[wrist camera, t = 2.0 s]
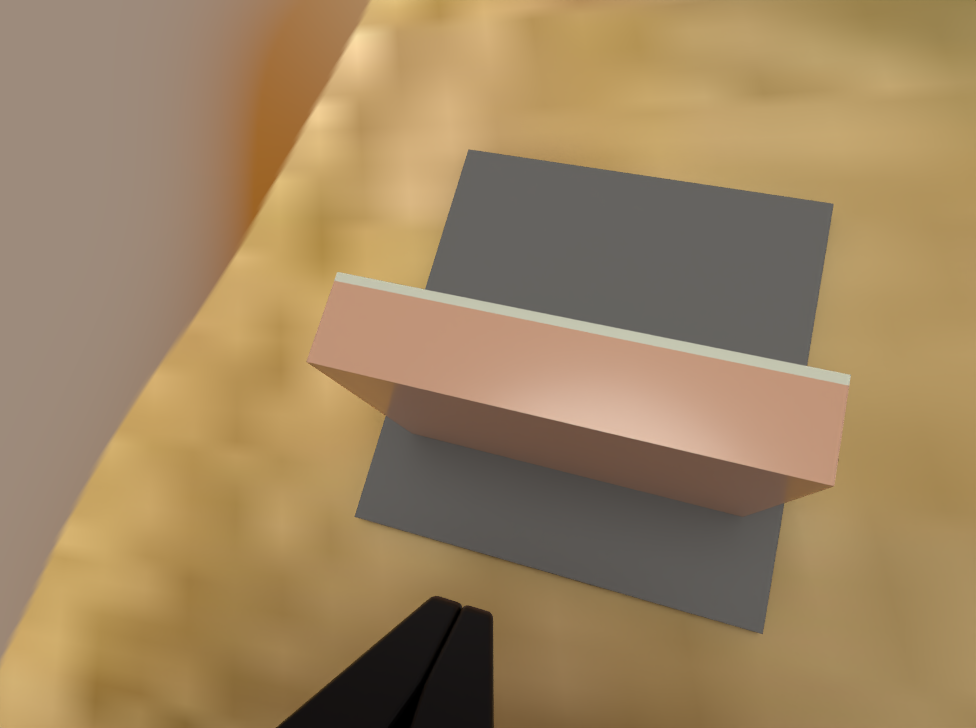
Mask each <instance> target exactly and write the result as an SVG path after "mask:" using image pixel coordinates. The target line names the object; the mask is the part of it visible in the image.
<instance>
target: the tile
mask: <svg viewBox="0 0 976 728" xmlns="http://www.w3.org/2000/svg"><path fill="white" fill-rule="evenodd" d="M307 362H308V363H309V364H310V365H312V366H313V367H315V368H316V369H318V370H319V371H321V372H322V373H324V374H325V375H327V376H328V377H330V378H331V379H333V380H334V381H335V382H337V383H338V384H340V385H341V386H343V387H344V388H346V389H347V390H349V391H350V392H352V393H353V394H355V395H356V396H358V397H359V398H361V399H362V400H363V401H365V402H366V403H368V404H369V405H371V406H372V407H374V408H375V409H377V410H378V411H380V412H381V413H383V414H384V415H386V416H387V417H389V418H390V419H391V420H393V421H394V422H396V423H397V424H399V425H400V426H402V427H403V428H405V429H406V430H408V431H409V432H411V433H412V434H416V435H420V436H424V437H428V438H432V439H436V440H440V441H444V442H448V443H452V444H456V445H460V446H464V447H468V448H472V449H475V450H479V451H483V452H487V453H491V454H495V455H499V456H503V457H507V458H511V459H515V460H519V461H523V462H527V463H531V464H535V465H539V466H543V467H547V468H551V469H555V470H559V471H563V472H567V473H571V474H575V475H579V476H582V477H586V478H590V479H594V480H598V481H602V482H606V483H610V484H614V485H618V486H622V487H626V488H630V489H634V490H638V491H642V492H646V493H650V494H654V495H658V496H662V497H666V498H670V499H674V500H678V501H682V502H686V503H689V504H693V505H697V506H701V507H705V508H709V509H713V510H717V511H721V512H725V513H729V514H733V515H737V516H741V517H744V516H747V515H750V514H753V513H756V512H759V511H762V510H765V509H768V508H771V507H774V506H777V505H780V504H783V503H786V502H789V501H792V500H795V499H798V498H801V497H804V496H807V495H810V494H813V493H816V492H819V491H822V490H824V489H827V488H830V487H833V486H834V484H835V477H836V470H837V464H838V457H839V450H840V444H841V437H842V430H843V423H844V417H845V410H846V403H847V396H848V390H849V383H850V376H851V375H849V374H844V373H839V372H834V371H829V370H824V369H819V368H814V367H809V366H804V365H799V364H794V363H789V362H784V361H779V360H774V359H769V358H764V357H759V356H754V355H749V354H744V353H739V352H734V351H729V350H724V349H719V348H714V347H709V346H704V345H699V344H694V343H689V342H684V341H679V340H674V339H669V338H664V337H659V336H654V335H649V334H644V333H639V332H634V331H629V330H624V329H619V328H614V327H609V326H604V325H599V324H594V323H589V322H584V321H579V320H574V319H569V318H564V317H559V316H554V315H549V314H544V313H540V312H535V311H530V310H525V309H520V308H515V307H510V306H505V305H500V304H495V303H490V302H485V301H480V300H475V299H470V298H465V297H460V296H455V295H450V294H445V293H440V292H435V291H430V290H425V289H420V288H415V287H410V286H405V285H400V284H395V283H390V282H385V281H380V280H375V279H370V278H365V277H360V276H355V275H350V274H345V273H340V272H337V275H336V278H335V281H334V283H333V286H332V289H331V292H330V295H329V298H328V301H327V304H326V307H325V310H324V312H323V315H322V318H321V321H320V324H319V327H318V330H317V333H316V336H315V339H314V341H313V344H312V347H311V350H310V353H309V356H308V359H307Z"/></svg>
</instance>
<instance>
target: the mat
mask: <svg viewBox="0 0 976 728" xmlns="http://www.w3.org/2000/svg"><path fill="white" fill-rule="evenodd" d="M832 210H833V204H831V203H824V202H817V201H811V200H804V199H797V198H791V197H784V196H777V195H770V194H764V193H757V192H750V191H744V190H737V189H730V188H723V187H717V186H710V185H703V184H697V183H690V182H683V181H677V180H670V179H663V178H656V177H650V176H643V175H636V174H630V173H623V172H616V171H609V170H603V169H596V168H589V167H583V166H576V165H569V164H562V163H556V162H549V161H542V160H536V159H529V158H522V157H516V156H509V155H502V154H495V153H489V152H482V151H475V150H468V153H467V156H466V160H465V163H464V166H463V169H462V172H461V176H460V179H459V182H458V185H457V189H456V192H455V195H454V198H453V201H452V205H451V208H450V211H449V214H448V218H447V221H446V224H445V227H444V230H443V234H442V237H441V240H440V243H439V247H438V250H437V253H436V256H435V259H434V263H433V266H432V269H431V272H430V276H429V279H428V282H427V285H426V288H425V290H430V291H435V292H440V293H445V294H450V295H455V296H460V297H465V298H470V299H475V300H480V301H485V302H490V303H495V304H500V305H505V306H510V307H515V308H520V309H525V310H530V311H535V312H540V313H544V314H549V315H554V316H559V317H564V318H569V319H574V320H579V321H584V322H589V323H594V324H599V325H604V326H609V327H614V328H619V329H624V330H629V331H634V332H639V333H644V334H649V335H654V336H659V337H664V338H669V339H674V340H679V341H684V342H689V343H694V344H699V345H704V346H709V347H714V348H719V349H724V350H729V351H734V352H739V353H744V354H749V355H754V356H759V357H764V358H769V359H774V360H779V361H784V362H789V363H794V364H799V365H804V366H807V362H808V356H809V350H810V344H811V338H812V332H813V326H814V320H815V313H816V307H817V301H818V295H819V289H820V283H821V277H822V271H823V265H824V259H825V253H826V247H827V241H828V235H829V229H830V222H831V216H832ZM783 508H784V503H783V504H780V505H777V506H774V507H771V508H768V509H765V510H762V511H759V512H756V513H753V514H750V515H747V516H744V517H741V516H737V515H733V514H729V513H725V512H721V511H717V510H713V509H709V508H705V507H701V506H697V505H693V504H689V503H686V502H682V501H678V500H674V499H670V498H666V497H662V496H658V495H654V494H650V493H646V492H642V491H638V490H634V489H630V488H626V487H622V486H618V485H614V484H610V483H606V482H602V481H598V480H594V479H590V478H586V477H582V476H579V475H575V474H571V473H567V472H563V471H559V470H555V469H551V468H547V467H543V466H539V465H535V464H531V463H527V462H523V461H519V460H515V459H511V458H507V457H503V456H499V455H495V454H491V453H487V452H483V451H479V450H475V449H472V448H468V447H464V446H460V445H456V444H452V443H448V442H444V441H440V440H436V439H432V438H428V437H424V436H420V435H416V434H412V433H411V432H409V431H408V430H406V429H405V428H403V427H402V426H400V425H399V424H397V423H396V422H394V421H393V420H391V419H390V418H389V417H387V416H386V417H385V420H384V424H383V427H382V430H381V433H380V437H379V440H378V443H377V446H376V449H375V453H374V456H373V459H372V462H371V466H370V469H369V472H368V475H367V478H366V482H365V485H364V488H363V491H362V495H361V498H360V501H359V504H358V507H357V511H356V514H355V517H358V518H361V519H365V520H368V521H372V522H375V523H379V524H382V525H385V526H389V527H392V528H396V529H399V530H403V531H406V532H410V533H413V534H417V535H420V536H424V537H427V538H431V539H434V540H438V541H441V542H445V543H448V544H452V545H455V546H458V547H462V548H465V549H469V550H472V551H476V552H479V553H483V554H486V555H490V556H493V557H497V558H500V559H504V560H507V561H511V562H514V563H518V564H521V565H525V566H528V567H532V568H535V569H538V570H542V571H545V572H549V573H552V574H556V575H559V576H563V577H566V578H570V579H573V580H577V581H580V582H584V583H587V584H591V585H594V586H598V587H601V588H605V589H608V590H611V591H615V592H618V593H622V594H625V595H629V596H632V597H636V598H639V599H643V600H646V601H650V602H653V603H657V604H660V605H664V606H667V607H671V608H674V609H678V610H681V611H685V612H688V613H691V614H695V615H698V616H702V617H705V618H709V619H712V620H716V621H719V622H723V623H726V624H730V625H733V626H737V627H740V628H744V629H747V630H751V631H754V632H758V633H761V634H763V629H764V623H765V617H766V611H767V605H768V599H769V593H770V586H771V580H772V574H773V568H774V562H775V556H776V550H777V544H778V538H779V532H780V526H781V520H782V514H783Z"/></svg>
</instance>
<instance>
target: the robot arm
mask: <svg viewBox="0 0 976 728" xmlns="http://www.w3.org/2000/svg"><path fill="white" fill-rule="evenodd" d="M276 728H494V695H493V616H492V614H491V613H490V612H488V611H485V610H482V609H478V608H475V607H472V606H464V607H463V608H462V605H461V604H460V603H458V602H455V601H452V600H449V599H446V598H442V597H439V596H434V597H431V598H430V599H428V600H427V601H426V602H425V603H423V604H422V605H421V606H420V607H419V608H418V609H416V610H415V611H414V612H413V613H412V614H410V615H409V616H408V617H407V618H406V619H404V620H403V621H402V622H401V623H400V624H399V625H397V626H396V627H395V628H394V629H393V630H391V631H390V632H389V633H388V634H387V635H385V636H384V637H383V638H382V639H381V640H380V641H378V642H377V643H376V644H375V645H374V646H372V647H371V648H370V649H369V650H368V651H366V652H365V653H364V654H363V655H362V656H361V657H359V658H358V659H357V660H356V661H355V662H353V663H352V664H351V665H350V666H349V667H347V668H346V669H345V670H344V671H343V672H342V673H340V674H339V675H338V676H337V677H336V678H334V679H333V680H332V681H331V682H330V683H328V684H327V685H326V686H325V687H324V688H323V689H321V690H320V691H319V692H318V693H317V694H315V695H314V696H313V697H312V698H311V699H309V700H308V701H307V702H306V703H305V704H304V705H302V706H301V707H300V708H299V709H298V710H296V711H295V712H294V713H293V714H292V715H290V716H289V717H288V718H287V719H286V720H285V721H283V722H282V723H281V724H280V725H279V726H277V727H276Z"/></svg>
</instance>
